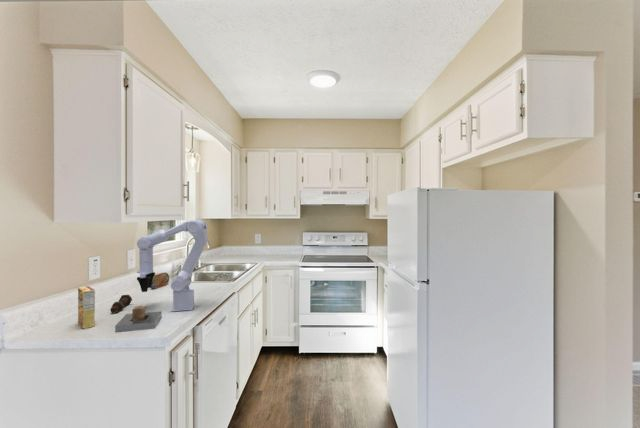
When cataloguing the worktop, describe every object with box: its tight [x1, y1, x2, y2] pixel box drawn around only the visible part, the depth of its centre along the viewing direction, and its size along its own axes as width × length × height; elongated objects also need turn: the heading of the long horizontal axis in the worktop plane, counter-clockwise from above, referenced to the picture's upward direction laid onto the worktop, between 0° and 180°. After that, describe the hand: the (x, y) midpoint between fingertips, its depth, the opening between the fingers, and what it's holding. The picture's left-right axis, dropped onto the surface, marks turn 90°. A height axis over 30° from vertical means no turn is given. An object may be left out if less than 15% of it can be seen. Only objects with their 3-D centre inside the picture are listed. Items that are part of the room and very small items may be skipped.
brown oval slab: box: [150, 272, 170, 290], centre depth 194 cm, size 15×3×8 cm, turn 167°
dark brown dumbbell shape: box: [110, 294, 133, 314], centre depth 152 cm, size 6×5×15 cm
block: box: [131, 305, 147, 321], centre depth 132 cm, size 4×4×7 cm
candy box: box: [77, 286, 96, 330], centre depth 130 cm, size 9×4×15 cm, turn 49°
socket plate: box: [114, 310, 163, 333], centre depth 132 cm, size 14×14×2 cm
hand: (146, 289), depth 151 cm, fingers open, 7 cm apart
